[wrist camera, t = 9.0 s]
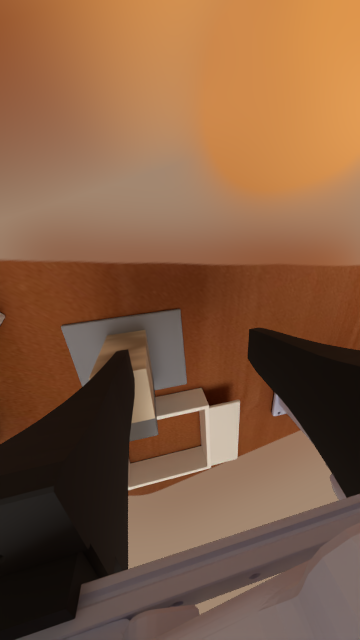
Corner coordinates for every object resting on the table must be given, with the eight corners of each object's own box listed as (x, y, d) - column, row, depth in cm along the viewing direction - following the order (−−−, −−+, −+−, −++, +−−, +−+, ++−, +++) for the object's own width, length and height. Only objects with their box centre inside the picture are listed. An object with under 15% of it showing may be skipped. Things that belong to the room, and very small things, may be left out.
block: (145, 329, 20) (146, 368, 13) (153, 381, 22) (158, 434, 16) (106, 335, 19) (88, 378, 13) (120, 388, 22) (110, 445, 16)
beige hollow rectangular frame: (229, 382, 25) (240, 398, 23) (228, 441, 30) (237, 460, 27) (75, 413, 23) (65, 436, 20) (99, 473, 27) (94, 499, 24)
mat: (179, 308, 20) (180, 309, 20) (186, 381, 24) (186, 383, 24) (62, 325, 18) (60, 326, 18) (89, 400, 22) (88, 403, 22)
